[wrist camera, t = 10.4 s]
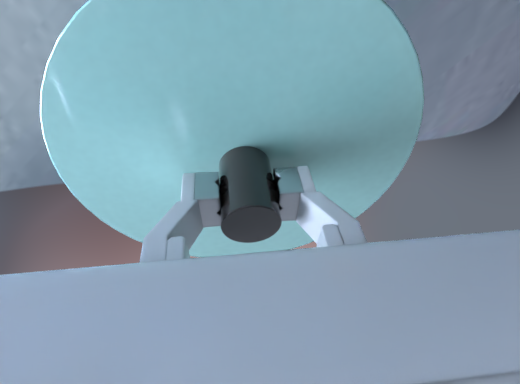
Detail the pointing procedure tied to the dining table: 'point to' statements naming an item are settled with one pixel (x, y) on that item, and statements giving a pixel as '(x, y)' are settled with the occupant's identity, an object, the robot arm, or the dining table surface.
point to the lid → (229, 109)
